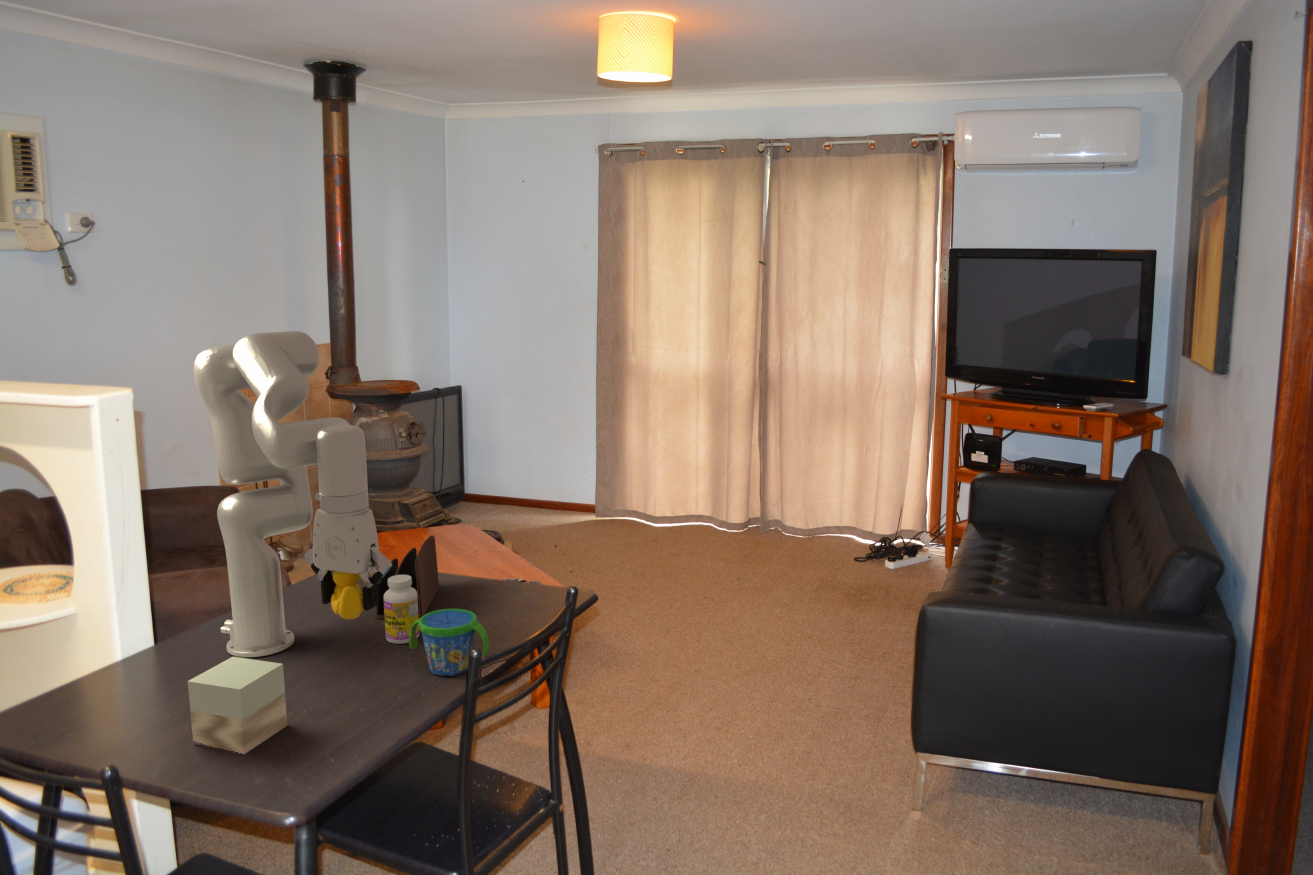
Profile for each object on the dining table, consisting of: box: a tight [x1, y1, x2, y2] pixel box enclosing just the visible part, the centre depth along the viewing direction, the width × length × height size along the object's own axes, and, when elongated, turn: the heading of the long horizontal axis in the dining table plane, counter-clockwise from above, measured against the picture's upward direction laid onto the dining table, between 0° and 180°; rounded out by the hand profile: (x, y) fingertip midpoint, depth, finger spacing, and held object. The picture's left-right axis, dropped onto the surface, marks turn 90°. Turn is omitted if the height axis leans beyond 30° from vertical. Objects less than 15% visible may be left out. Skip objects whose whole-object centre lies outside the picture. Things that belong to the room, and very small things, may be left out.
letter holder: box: [375, 534, 440, 621], centre depth 216 cm, size 10×20×14 cm, turn 2°
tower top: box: [187, 656, 286, 720], centre depth 156 cm, size 10×10×5 cm
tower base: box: [189, 692, 288, 755], centre depth 157 cm, size 10×10×6 cm
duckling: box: [330, 571, 365, 620], centre depth 161 cm, size 11×5×10 cm, turn 23°
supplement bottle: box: [384, 575, 420, 645], centre depth 196 cm, size 7×7×13 cm
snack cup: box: [408, 608, 491, 677], centre depth 181 cm, size 16×10×10 cm
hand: (350, 603), depth 161 cm, fingers closed on duckling, 7 cm apart
